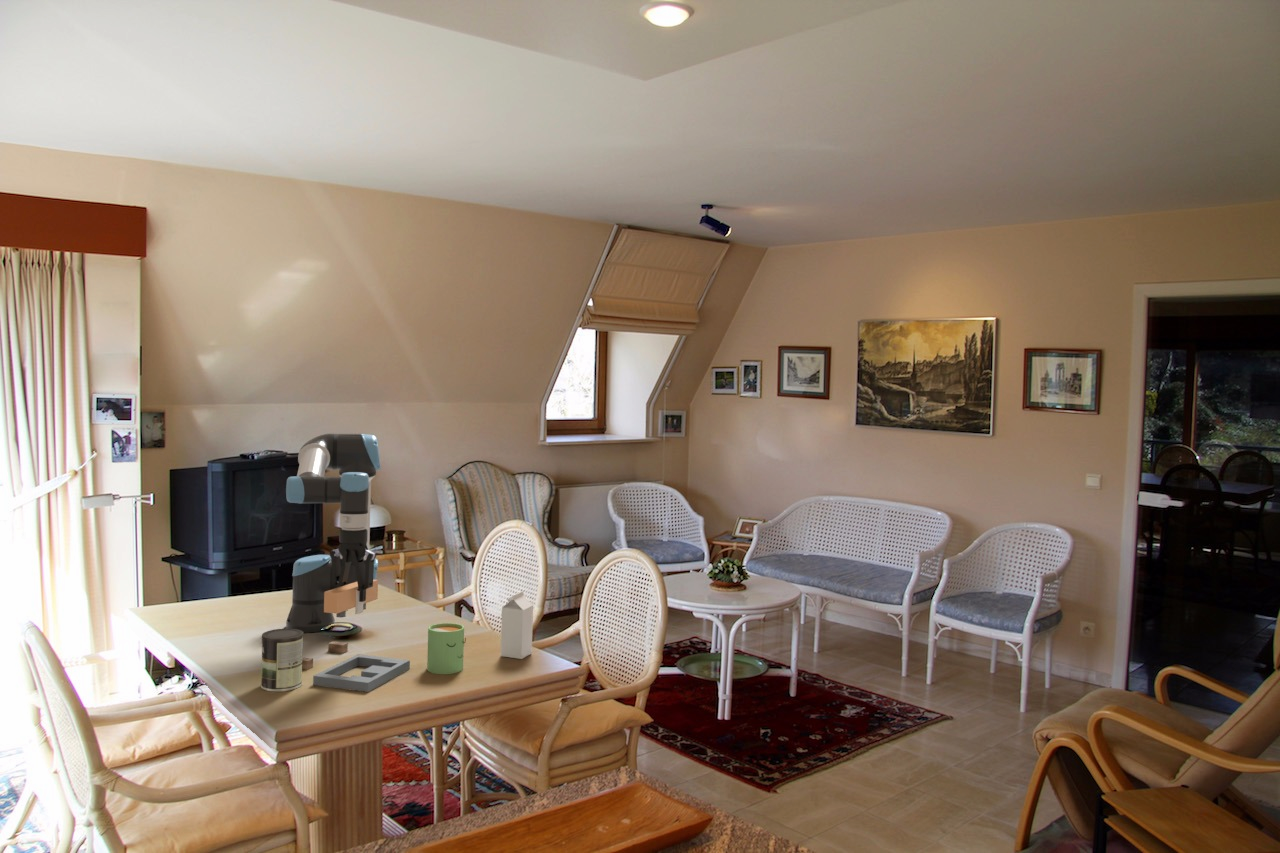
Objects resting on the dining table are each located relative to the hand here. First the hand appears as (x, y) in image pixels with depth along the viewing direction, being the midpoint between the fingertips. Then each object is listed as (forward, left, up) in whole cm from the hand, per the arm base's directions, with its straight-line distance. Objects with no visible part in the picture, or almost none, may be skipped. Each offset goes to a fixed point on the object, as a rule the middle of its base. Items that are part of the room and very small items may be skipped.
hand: (351, 612), depth 258 cm
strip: (0, 0, -1) cm, 1 cm away
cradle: (-16, +10, -17) cm, 25 cm away
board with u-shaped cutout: (+4, 0, -17) cm, 18 cm away
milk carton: (+35, +35, -18) cm, 52 cm away
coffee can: (-11, -15, -18) cm, 26 cm away
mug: (+22, +16, -18) cm, 32 cm away
